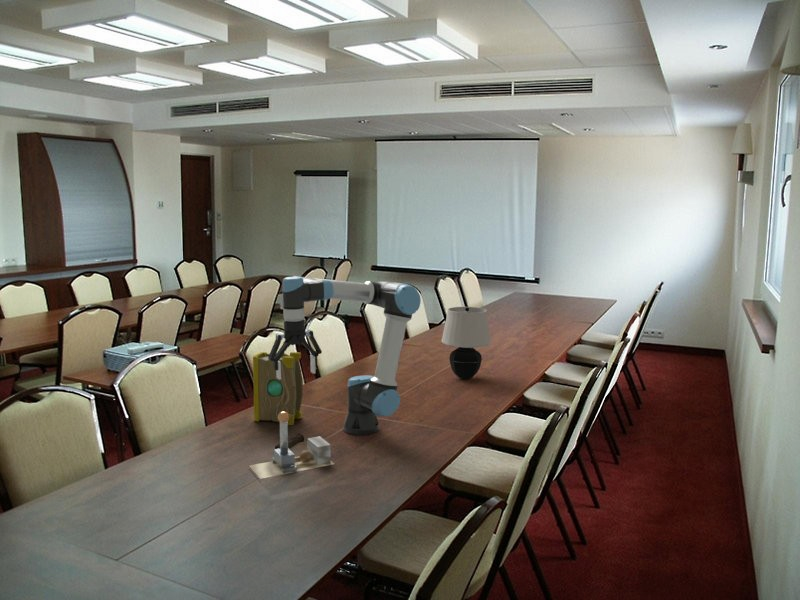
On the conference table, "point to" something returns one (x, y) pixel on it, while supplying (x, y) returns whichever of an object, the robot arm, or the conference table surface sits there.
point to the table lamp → (466, 339)
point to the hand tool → (293, 441)
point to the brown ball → (305, 456)
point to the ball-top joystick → (284, 446)
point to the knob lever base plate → (298, 460)
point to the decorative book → (277, 387)
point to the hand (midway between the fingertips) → (296, 375)
